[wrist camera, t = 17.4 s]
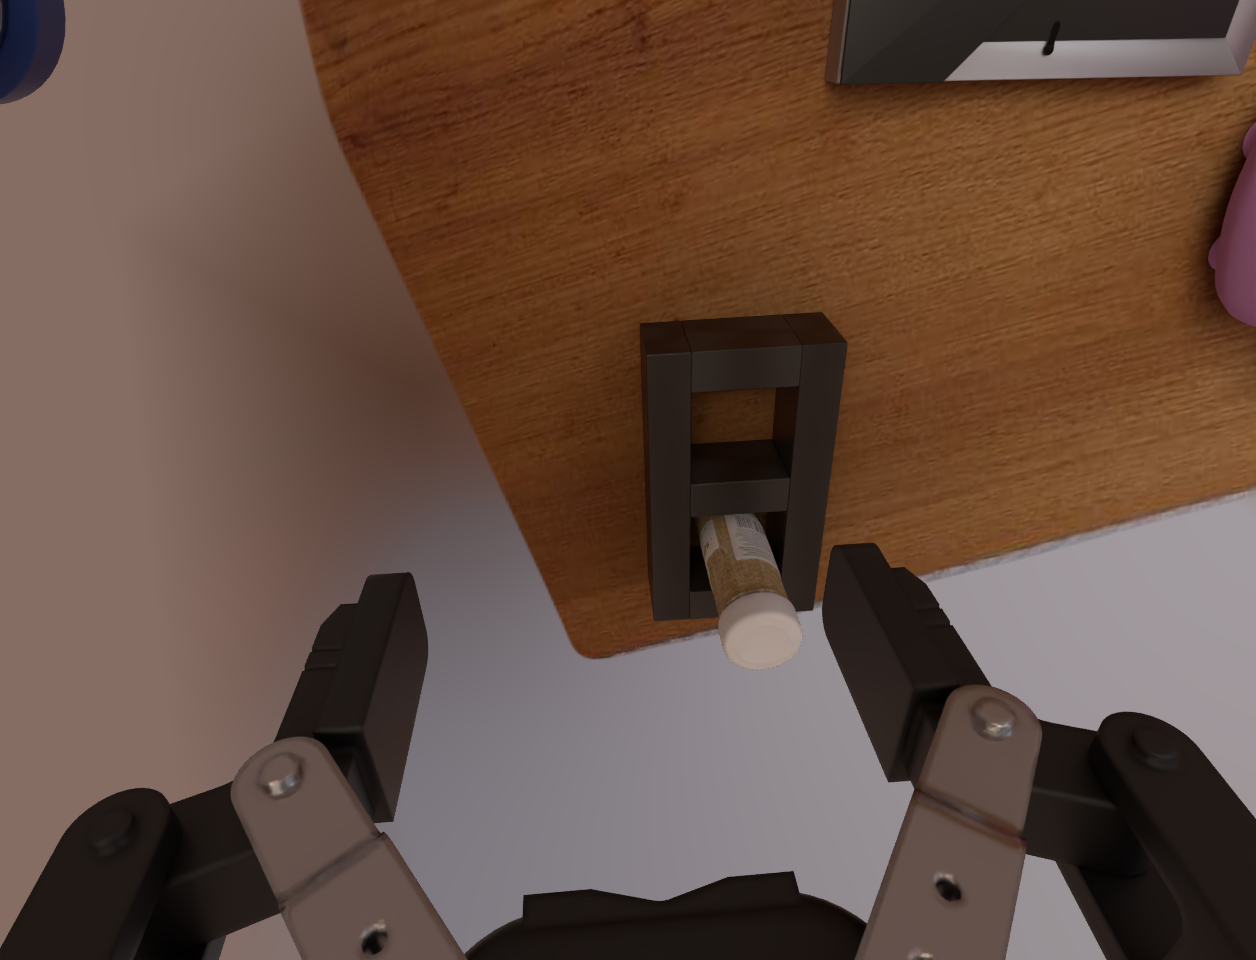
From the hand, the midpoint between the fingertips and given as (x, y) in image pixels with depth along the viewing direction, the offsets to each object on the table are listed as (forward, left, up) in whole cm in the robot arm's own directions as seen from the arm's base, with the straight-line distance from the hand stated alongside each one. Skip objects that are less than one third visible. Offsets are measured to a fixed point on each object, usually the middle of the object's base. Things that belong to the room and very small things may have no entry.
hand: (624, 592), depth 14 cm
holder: (+8, -16, -32) cm, 36 cm away
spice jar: (+8, -20, -32) cm, 38 cm away
